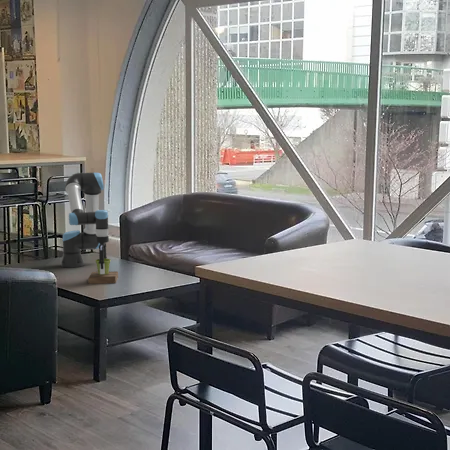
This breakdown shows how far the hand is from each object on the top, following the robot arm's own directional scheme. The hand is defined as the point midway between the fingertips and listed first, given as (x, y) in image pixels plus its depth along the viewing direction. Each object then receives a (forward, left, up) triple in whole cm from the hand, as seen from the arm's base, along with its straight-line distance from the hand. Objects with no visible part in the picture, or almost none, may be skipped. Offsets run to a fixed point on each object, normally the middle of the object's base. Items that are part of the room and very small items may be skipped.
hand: (103, 272), depth 427 cm
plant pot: (0, 0, -1) cm, 1 cm away
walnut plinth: (0, 0, -5) cm, 5 cm away
